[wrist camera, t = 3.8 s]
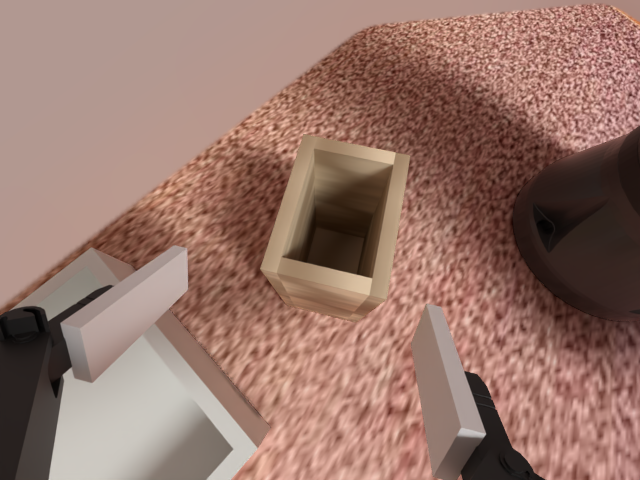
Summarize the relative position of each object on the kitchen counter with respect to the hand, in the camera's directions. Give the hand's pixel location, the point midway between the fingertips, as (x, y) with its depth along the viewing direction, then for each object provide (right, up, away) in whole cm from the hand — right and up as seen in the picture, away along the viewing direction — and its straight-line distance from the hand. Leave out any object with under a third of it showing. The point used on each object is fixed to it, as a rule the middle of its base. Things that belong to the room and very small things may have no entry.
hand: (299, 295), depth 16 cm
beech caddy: (+2, +1, +10) cm, 10 cm away
